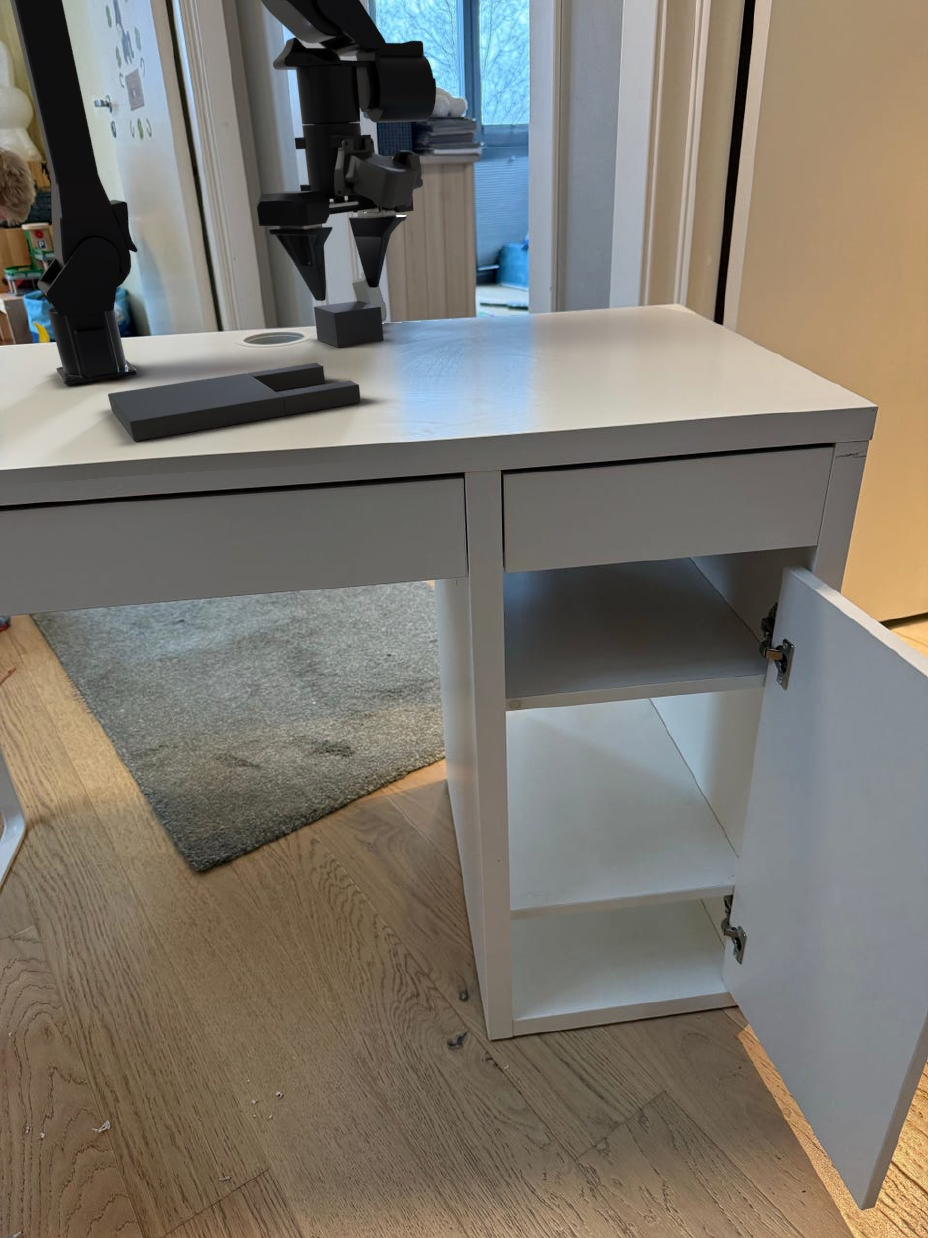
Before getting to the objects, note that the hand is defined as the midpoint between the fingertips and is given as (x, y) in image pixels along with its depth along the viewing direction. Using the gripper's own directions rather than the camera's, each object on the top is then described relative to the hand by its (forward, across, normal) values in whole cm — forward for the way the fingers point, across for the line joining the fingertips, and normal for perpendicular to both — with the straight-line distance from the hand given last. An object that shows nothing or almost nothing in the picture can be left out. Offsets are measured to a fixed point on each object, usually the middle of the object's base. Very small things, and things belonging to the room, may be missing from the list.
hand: (348, 293), depth 91 cm
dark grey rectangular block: (+5, 0, 0) cm, 5 cm away
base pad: (+5, -26, -8) cm, 28 cm away
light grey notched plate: (+5, +8, +2) cm, 10 cm away
